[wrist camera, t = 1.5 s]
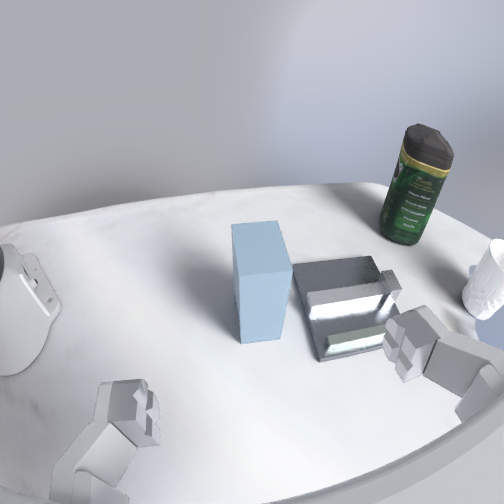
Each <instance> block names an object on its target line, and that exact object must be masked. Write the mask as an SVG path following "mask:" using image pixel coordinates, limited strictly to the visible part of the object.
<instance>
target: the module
mask: <svg viewBox="0 0 504 504" xmlns="http://www.w3.org/2000/svg"><path fill="white" fill-rule="evenodd" d="M231 228H232V252H233V274H234V295H235V304H236V305H237V308H238V315H239V323H240V340H241V344H245V343H253V342H261V341H269V340H277V339H280V337H281V332H282V327H283V322H284V317H285V312H286V307H287V302H288V296H289V291H290V285H291V280H292V274H293V268H292V265H291V262H290V259H289V255H288V252H287V249H286V246H285V243H284V240H283V237H282V233H281V230H280V227H279V224H278V221H266V222H253V223H241V224H231Z"/></svg>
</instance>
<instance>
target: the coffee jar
mask: <svg viewBox="0 0 504 504" xmlns="http://www.w3.org/2000/svg"><path fill="white" fill-rule="evenodd" d="M453 157H454V153H453V150H452V148H451V147H450V145H449V143H448V142H447V141H446V140H445V138H444V137H443V136H442V135H441V134H440V132H439V131H438V130H435V129H432V128H430V127H427V126H425V125H421V124H416V125H412V126H410V127H408V128H407V130H406V132H405V136H404V139H403V143H402V147H401V151H400V155H399V158H398V162H397V165H396V169H395V172H394V175H393V178H392V181H391V185H390V187H389V190H388V193H387V196H386V199H385V202H384V205H383V208H382V211H381V214H380V229H381V231H382V233H383V234H384V235H385V236H386V237H388V238H390V239H391V240H393V241H395V242H397V243H400V244H405V245H414V244H416V243H418V241H419V240H420V238H421V235H422V233H423V231H424V229H425V227H426V224H427V222H428V220H429V217H430V215H431V213H432V210H433V208H434V206H435V203H436V201H437V199H438V196H439V193H440V191H441V189H442V186H443V183H444V181H445V179H446V177H447V175H448V173H449V170H450V168H451V164H452V161H453Z"/></svg>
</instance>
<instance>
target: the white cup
mask: <svg viewBox="0 0 504 504" xmlns="http://www.w3.org/2000/svg"><path fill="white" fill-rule="evenodd" d="M462 300H463V304H464V306H465V308H466V309H467V310H468V312H469V313H470V314H471V315H472V316H474V317H475V318H477V319H481V320H485V319H488V318H490V317H491V316H492V315H493V313H495V312H496V311H497V309H499V308H500V307H501V306H502V305H503V304H504V241H503V240H500V239H494V240H492V241H491V242H490V244H489V246H488V248H487V249H486V251H485V253H484V255H483V256H482V258H481V260H480V262H479V263H478V265H477V267H476V268H475V270H474V272H473V274H472V275H471V278H470V280H469V281H468V283H467V284H466V286H465V287H464V289H463V291H462Z"/></svg>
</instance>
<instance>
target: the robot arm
mask: <svg viewBox="0 0 504 504" xmlns="http://www.w3.org/2000/svg"><path fill="white" fill-rule="evenodd" d="M61 307H62V304H61V302H60V300H59V298H58V297H57V295H56V293H55V291H54V290H53V288H52V286H51V284H50V282H49V281H48V279H47V277H46V275H45V273H44V271H43V269H42V267H41V265H40V263H39V261H38V259H37V258H36V256H35V255H34V254H25V255H20V253H19V252H18V250H17V249H16V247H15V246H14V245H12V244H4V245H0V375H2V376H9V375H14V374H17V373H19V372H21V371H22V370H24V369H25V368H27V367H28V366H29V365H30V364H31V363H32V362H33V361H34V360H35V359H36V357H37V356H38V355H39V353H40V351H41V350H42V348H43V346H44V344H45V342H46V339H47V336H48V333H49V329H50V326H51V324H52V322H53V321H54V319H55V318H56V316H57V315H58V313H59V312H60V310H61ZM385 327H386V328H387V330H388V331H387V332H386V333H385V335H384V336H383V342H382V344H383V350H384V352H385V355H386V357H387V358H388V360H389V361H391V362H394V363H396V364H395V371H396V372H397V374H398V375H399V377H400V378H401V380H402V381H403V383H404V382H407V381H409V380H411V379H414V378H416V377H418V376H420V375H423V376H425V377H426V378H428V379H430V380H431V381H433V382H435V383H437V384H438V385H440V386H442V387H444V388H445V389H447V390H449V391H451V392H452V393H454V394H456V395H458V396H459V397H461V398H462V399H461V400H460V402H459V403H458V405H457V406H456V408H455V412H456V414H457V415H458V417H459V419H460V420H461V422H462V423H461V424H459V425H458V426H456V427H455V428H453V429H452V430H450V431H448V432H447V433H445V434H444V435H442V436H440V437H439V438H437V439H435V440H433V441H432V442H430V443H428V444H426V445H424V446H423V447H421V448H419V449H417V450H415V451H413V452H411V453H409V454H407V455H405V456H403V457H401V458H399V459H397V460H395V461H393V462H391V463H389V464H386V465H384V466H382V467H380V468H377V469H375V470H373V471H370V472H368V473H365V474H363V475H360V476H358V477H355V478H353V479H350V480H347V481H344V482H341V483H339V484H336V485H333V486H330V487H327V488H323V489H320V490H317V491H313V492H310V493H306V494H303V495H299V496H295V497H291V498H287V499H283V500H278V501H274V502H269V503H264V504H504V350H501V349H498V348H496V347H493V346H490V345H487V344H485V343H482V342H480V341H477V340H475V339H472V338H469V337H467V336H464V335H461V334H459V333H456V332H452V333H451V332H450V331H449V330H448V329H447V328H446V327H445V325H444V324H443V323H442V322H441V321H440V320H439V319H438V318H437V317H436V315H435V314H434V313H433V312H432V311H431V310H430V309H429V308H428V307H427V306H425V305H422V306H420V307H417V308H415V309H412V310H409V311H406V312H404V313H401V314H399V315H396V316H394V317H391V318H389V319H388V320H387V321H386V326H385ZM159 418H160V408H159V403H158V400H157V398H156V396H155V394H154V393H153V392H151V391H149V390H148V384H147V383H146V381H145V380H144V379H134V380H123V381H111V382H102V383H101V384H100V385H99V389H98V394H97V399H96V405H95V411H94V417H93V423H88V425H87V426H86V427H85V428H84V429H83V431H82V432H81V433H80V434H79V436H78V437H77V438H76V439H75V440H74V442H73V443H72V444H71V445H70V447H69V448H68V449H67V450H66V452H65V453H64V454H63V455H62V456H61V458H60V459H59V460H58V461H57V463H56V464H55V465H54V466H53V471H52V479H51V487H50V496H49V500H46V499H42V498H38V497H34V496H31V495H27V494H24V493H21V492H18V491H14V490H11V489H8V488H6V487H3V486H0V504H130V503H129V497H128V496H127V495H126V494H124V493H123V492H121V491H119V490H117V489H115V488H116V486H117V484H118V483H119V481H120V479H121V477H122V476H123V474H124V472H125V470H126V468H127V467H128V465H129V463H130V461H131V460H132V458H133V456H134V454H135V453H136V451H137V449H138V448H137V447H148V446H159V445H160V428H159V427H158V426H157V425H156V422H157V421H158V420H159Z"/></svg>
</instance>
